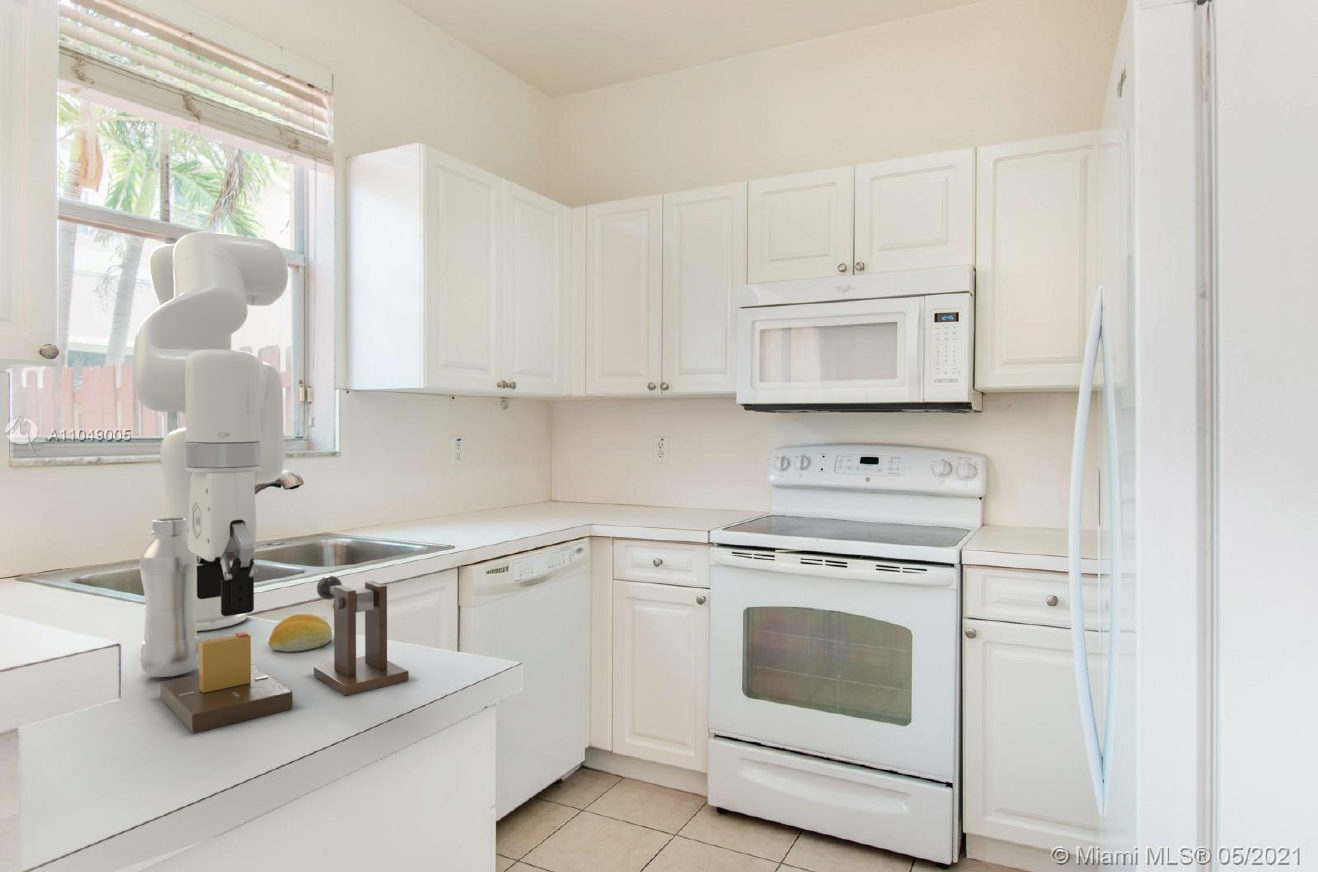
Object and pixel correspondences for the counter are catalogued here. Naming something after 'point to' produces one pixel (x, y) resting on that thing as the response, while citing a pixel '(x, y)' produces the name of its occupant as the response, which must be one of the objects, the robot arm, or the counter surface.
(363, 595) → the door lever
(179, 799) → the counter surface
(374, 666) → the handle bracket
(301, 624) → the bread roll
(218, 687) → the lock knob
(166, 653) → the plastic bottle
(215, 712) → the plate
